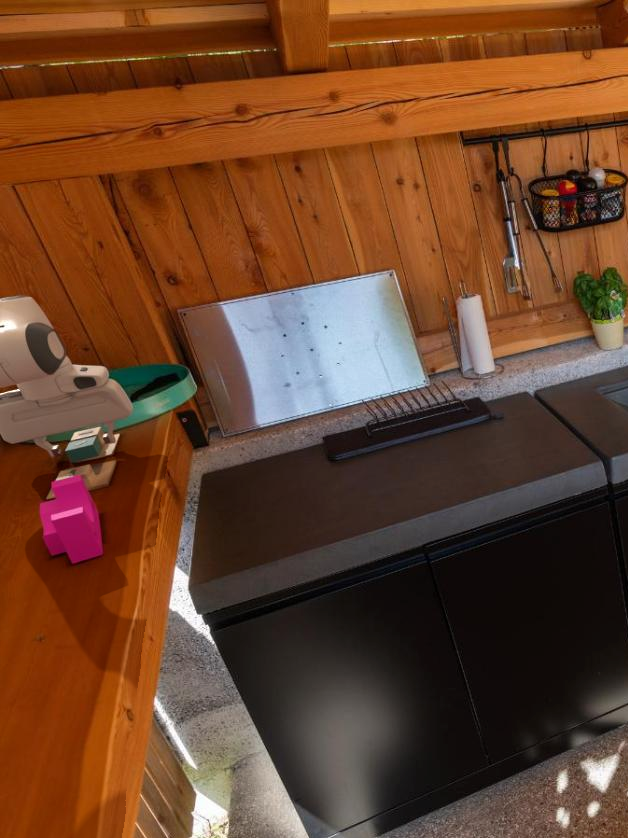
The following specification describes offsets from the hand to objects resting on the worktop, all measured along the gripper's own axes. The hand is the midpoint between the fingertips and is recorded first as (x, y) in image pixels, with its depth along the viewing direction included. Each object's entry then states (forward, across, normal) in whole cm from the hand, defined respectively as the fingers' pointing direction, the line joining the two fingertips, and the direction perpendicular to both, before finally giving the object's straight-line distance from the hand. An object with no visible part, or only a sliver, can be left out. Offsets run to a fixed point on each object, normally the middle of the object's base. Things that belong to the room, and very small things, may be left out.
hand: (84, 449), depth 147 cm
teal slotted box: (+1, 0, 0) cm, 1 cm away
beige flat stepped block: (+2, 0, +3) cm, 3 cm away
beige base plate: (+2, +1, -12) cm, 12 cm away
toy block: (+2, +4, -38) cm, 38 cm away
